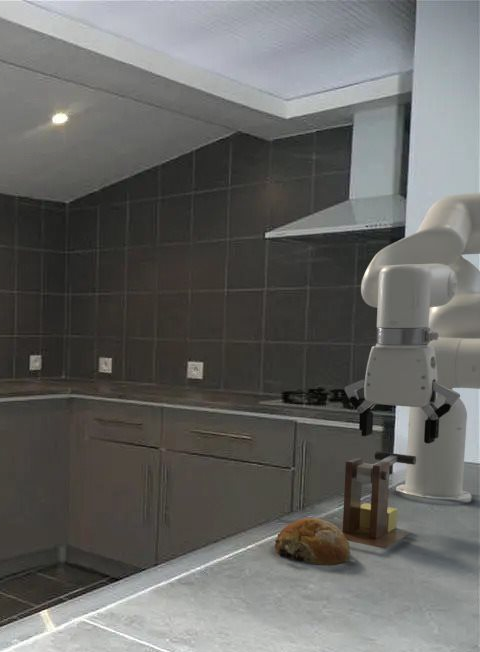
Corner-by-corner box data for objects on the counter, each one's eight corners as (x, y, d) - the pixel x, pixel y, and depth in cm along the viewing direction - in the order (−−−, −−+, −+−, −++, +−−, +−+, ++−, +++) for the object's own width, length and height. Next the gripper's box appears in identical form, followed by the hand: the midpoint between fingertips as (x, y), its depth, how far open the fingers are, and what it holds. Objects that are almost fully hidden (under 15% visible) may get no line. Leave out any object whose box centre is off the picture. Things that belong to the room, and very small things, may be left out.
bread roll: (349, 596, 101) (377, 546, 100) (284, 565, 101) (311, 515, 100) (317, 571, 111) (341, 526, 110) (258, 543, 111) (282, 498, 110)
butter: (364, 521, 121) (365, 502, 121) (396, 527, 118) (397, 508, 117) (354, 525, 119) (355, 507, 119) (388, 532, 115) (389, 513, 115)
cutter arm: (377, 461, 125) (377, 447, 125) (416, 466, 121) (416, 452, 120) (343, 478, 116) (344, 464, 115) (384, 485, 111) (384, 470, 111)
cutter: (345, 526, 123) (349, 452, 122) (411, 539, 115) (415, 461, 114) (316, 540, 115) (319, 462, 114) (384, 556, 107) (388, 472, 106)
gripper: (469, 338, 116) (463, 442, 118) (355, 336, 129) (352, 429, 131) (455, 341, 112) (449, 448, 113) (338, 338, 124) (335, 435, 126)
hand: (397, 438), depth 122 cm, fingers open, 9 cm apart
